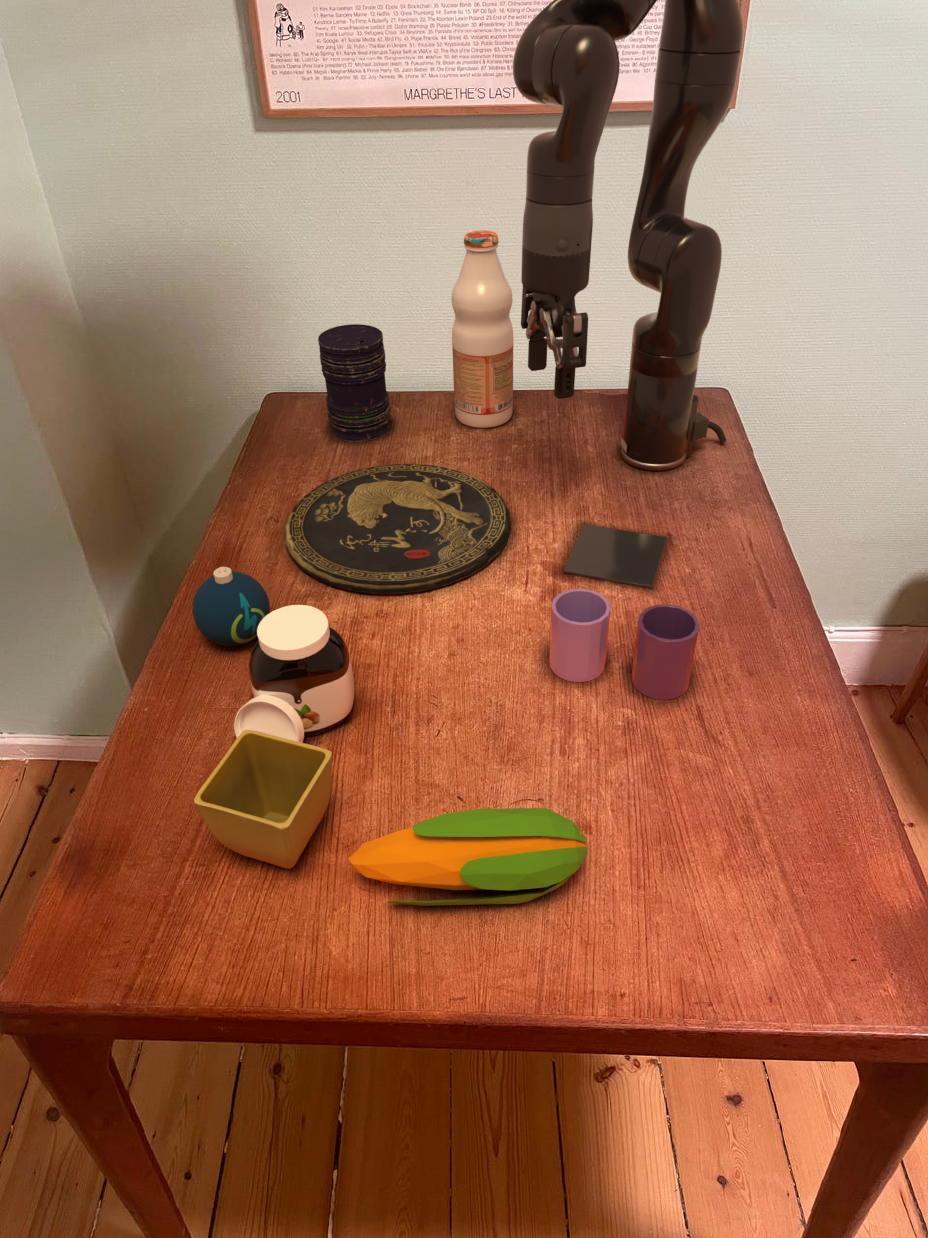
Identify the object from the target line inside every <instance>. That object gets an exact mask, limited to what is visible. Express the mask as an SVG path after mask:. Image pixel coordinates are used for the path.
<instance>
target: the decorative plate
mask: <svg viewBox="0 0 928 1238" xmlns="http://www.w3.org/2000/svg"><path fill="white" fill-rule="evenodd" d="M289 513H290V514H289V515H288V517H287V521H286V525H285V527H284V540H285V548H286V550H287V552H288V554H289V556H290V558H291V560H292V561H293V562H294V563H295V564H296V565H297V566H298V567H299V568H300V569H301V570H302V571H303V572H305V573H306V574H308V575H309V576H311V577H313V578H314V579H316V580H317V581H320V582H322V583H324V584H327V585H328V586H329V585H330V586H332V587H335V588H339V589H342V590H347V591H350V592H355V593H363V594H373V595H405V594H412V593H419V592H425V591H426V592H427V591H431V590H435V589H439V588H442V587H445V586H449V585H450V586H451V584H455V583H457V582H459V581H461V580H464V579H466V578H468V577H471V576H472V575H474V574H475V573H477V572H480V571H481V570H482V569H484V568H485V567H487V566H488V565H489V564H490V563H491V562H492V561H493V560H495V558H497V557H498V556H499V555H500V553H501V552H502V551H503V549H504V547H505V545H506V544H507V543H508V540H509V536H510V533H511V517H510V510H509V509H508V506H507V504H506V502H505V500H504V498H503V497H502V496H500V493H498V492H497V491H496V490H495V488H493V487H491V486H490V484H488V483H486V482H485V481H484V480H482V479H479V478H478V477H475V476H474V475H471V474H469V473H466V472H463V471H459V470H457V469H454V468H449V467H443V466H437V465H434V464H433V465H431V464H417V463H397V464H396V463H395V464H385V465H378V466H377V465H376V466H371V467H366V468H361V469H356V470H353V471H350V472H347V473H344V474H341V475H338V476H335V477H334V478H333V477H332V478H331V479H329V480H327V481H325V482H323V483H321V484H319V485H318V486H317V487H314V488H313V489H311V490H310V491H309V492H308V493H306V494H305V495H304V496H303V497H302V498H301V499H300V500H298V502H297V503H296V504H295V506H294V507H293V509H292V511H291V512H289Z"/></svg>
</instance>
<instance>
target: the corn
mask: <svg viewBox="0 0 928 1238" xmlns="http://www.w3.org/2000/svg"><path fill="white" fill-rule="evenodd" d="M587 843H588V841H587V837H586V835H585V834H584V833H583V831H581V829H580V828H579V826H577V824H576V823H575V822H574V821H573V820H572V819H570V818H567V817H566V816H563V815H562V814H559V813H558V812H555V811H554V810H551V809H550V808H547V807H519V808H518V807H516V808H515V807H513V808H512V807H509V808H506V807H503V808H498V807H497V808H493V807H491V808H476V809H475V808H474V809H468V810H460V811H453V812H447V813H443V814H440V815H437V816H434V817H431V818H427V819H425V820H422V821H421V822H418V823H417V824H414V825H413V827H409V828H405V829H404V828H403V829H400V830H399V829H398V830H396V831H393V832H390V833H388V834H385V835H383V836H379V837H378V838H375V839H372V840H370V841H366V842H364V843H363V844H362V845H361V846H360V847H359V848H358V849H357V850H356V851H354V852H353V853H352V854H351V855H350V856H349V857H348V858H347V859H348V861H349V863H350V865H351V867H352V868H353V870H354V871H355V872H357V873H358V874H360V875H362V876H363V877H365V878H368V879H371V880H376V881H380V882H385V883H388V884H392V885H402V886H410V887H420V888H430V889H439V890H447V891H448V890H449V891H469V890H471V891H473V890H474V891H475V890H490V891H491V890H493V891H519V890H530V889H540V888H541V889H540V890H537V891H527V892H518V893H517V892H516V893H509V894H507V893H506V894H499V895H489V896H479V897H471V898H456V899H455V898H453V899H440V900H439V899H438V900H408V899H407V900H406V899H405V900H404V899H392V900H388V901H386V903H388V904H399V905H411V906H423V907H424V906H463V905H466V906H467V905H468V906H470V905H512V904H513V905H514V904H517V905H518V904H524V903H527V902H531V901H533V900H536V899H538V898H539V897H541V896H544V895H546V894H548V893H550V892H552V891H553V892H554V891H555V890H557V889H558V888H560V887H561V886H563V885H564V884H566V882H567V881H568V880H569V879H570V878H571V877H572V876H573V875H574V874H575V873H576V872H577V871H578V870H579V868H580V867H581V866H582V865H583V862H584V861H585V859H586V858H587V856H588V853H589V852H588V850H589V848H588V846H587Z"/></svg>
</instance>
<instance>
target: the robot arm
mask: <svg viewBox="0 0 928 1238" xmlns="http://www.w3.org/2000/svg"><path fill="white" fill-rule="evenodd" d="M657 1H658V0H552V1H551V2H550V3H548V5H547V6H545V7H544V8H543V9H542V10H541V11H540V12H538V14H536V16H534V18H532V20H531V21H530V22H529V23H528V24H527V26H526V27H525V29H524V30H523V32H522V34H521V36H520V38H519V40H518V42H517V44H516V47H515V51H514V55H513V59H512V77H513V81H514V84H515V86H516V89H517V91H518V92H519V93H520V94H521V96H522V97H524V99H526V100H528V101H531V102H533V103H535V104H541V105H546V106H547V105H548V106H553V107H559V108H562V112H561V116H560V119H559V122H558V125H557V127H556V130H553V131H546V132H542V133H539V134H537V135H536V136H534V137H533V138H532V139H531V140H530V142H529V144H528V147H527V148H528V149H527V155H526V178H525V179H526V182H525V183H526V184H525V203H524V210H523V217H522V238H521V239H522V240H521V242H522V243H521V278H520V279H521V280H520V282H521V284H522V289H521V290H522V291H521V310H520V311H521V312H520V313H521V314H520V326H521V329H522V330H525V336H526V339H527V340H528V350H527V368H528V369H529V370H530V371H531V372H537V371H544V370H545V369H546V368H547V367H548V365H547V363H548V349H549V350H550V351H552V353H553V358H554V363H555V370H554V387H553V395H554V397H556V399H558V400H562V399H570V398H572V397H573V396H574V394H575V382H576V369H579V368H585V367H586V366H587V356H588V355H587V353H588V333H589V332H588V331H589V314H588V312H585V311H584V312H577V308H576V299H575V298H576V296H577V294H579V293H580V292H581V291H584V290H585V289H586V288H587V287H588V285H589V283H590V268H591V256H592V242H593V241H592V240H593V228H594V212H593V195H594V194H593V193H594V182H595V164H596V163H595V162H596V155H597V152H598V148H599V145H600V142H601V140H602V139H601V138H602V135H603V132H604V130H605V125H606V121H607V119H608V116H609V113H610V109H611V106H612V103H613V100H614V97H615V93H616V89H617V86H618V82H619V76H620V55H619V50H618V46H617V43H616V42H617V41H621V40H623V39H626V38H628V37H629V36H631V35H632V34H633V33H634V32H635V31H636V30H637V29H638V28H639V26H640V25H641V24H642V22H643V21H644V19H646V17H647V15H648V14H649V13H650V11H651V10H652V8H653V7H654V6H655V4H656V3H657ZM663 8H664V9H663V17H662V24H661V28H660V29H661V31H660V36H659V44H658V51H657V59H656V68H655V75H654V85H653V87H654V88H653V99H652V107H651V116H650V117H651V118H650V123H649V130H648V137H647V143H646V151H645V157H644V158H645V159H644V165H643V172H642V177H641V182H640V186H639V189H638V190H639V191H638V195H637V200H636V204H635V209H634V214H633V219H632V224H631V228H630V234H629V239H628V244H627V245H628V246H627V265H628V270H629V272H630V275H631V277H632V278H633V279H634V281H636V282H637V283H638V284H640V285H642V286H643V287H646V288H648V289H650V290H653V291H655V292H657V293H660V297H659V302H658V308H657V311H656V312H651V313H647V314H645V315H642V316H640V317H639V318H638V319H637V320H636V321H635V323H634V325H633V329H632V339H631V350H630V361H629V363H630V364H629V372H628V383H627V394H626V402H625V403H626V405H625V414H624V416H625V417H624V426H623V434H622V435H623V436H622V435H620V441H619V444H620V445H621V451H620V456H621V459H623V461H624V462H626V463H627V464H628V465H630V466H632V467H635V468H638V469H641V470H645V471H653V472H655V471H668V470H673V469H675V468H677V467H679V466H681V465H682V464H683V463H684V462H685V460H686V459H687V458H691V455H692V447H693V442H694V441H697V440H700V439H704V438H707V435H708V429H711V430H712V431H713V432H715V434H716V435H717V438H718V441H719V443H720V444H721V445H722V444H724V443H726V442H727V438H726V436H725V433H724V431H723V429H722V428H721V426H720V425H718V423H715V422H713V421H710V419H709V418H708V417H706V416H705V415H704V414H702V413H700V412H699V411H698V409H699V402H700V398H699V396H698V394H696V393H695V388H696V382H697V375H698V369H699V361H700V353H701V346H702V340H703V336H704V334H705V332H706V329H707V327H708V325H709V324H710V320H711V317H712V313H713V308H714V302H715V297H716V292H717V288H718V283H719V278H720V273H721V267H722V259H723V258H722V256H723V255H722V254H723V253H722V252H723V251H722V250H723V248H722V243H721V242H722V241H721V238H720V236H719V234H718V233H717V231H716V230H715V229H714V228H713V227H711V226H710V225H707V224H705V223H701V222H698V221H696V220H693V219H690V218H687V217H685V212H686V211H685V208H686V200H687V194H688V189H689V183H690V180H691V177H692V172H693V170H694V167H695V165H696V162H697V161H698V158H699V157H700V155H701V153H702V151H703V150H704V149H705V147H706V145H707V144H708V143H709V141H710V140H711V138H712V137H713V135H714V133H715V132H716V130H718V127H719V126H720V124H721V122H723V119H724V118H725V115H726V114H727V112H728V110H729V108H730V106H731V103H732V100H733V97H734V93H735V90H736V86H737V85H736V84H737V78H738V72H739V66H740V61H741V56H742V51H741V50H742V49H743V41H744V22H743V16H742V11H741V8H740V4H739V0H664V7H663Z"/></svg>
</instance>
